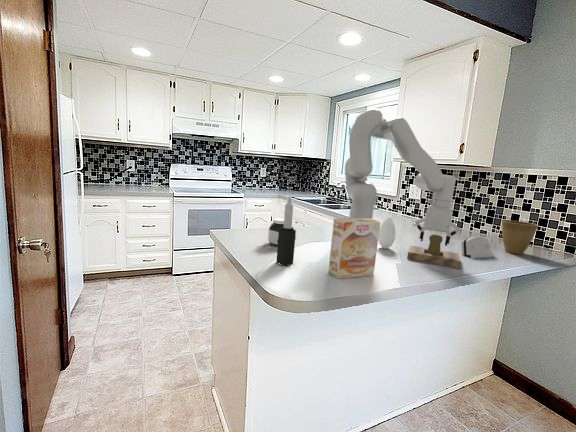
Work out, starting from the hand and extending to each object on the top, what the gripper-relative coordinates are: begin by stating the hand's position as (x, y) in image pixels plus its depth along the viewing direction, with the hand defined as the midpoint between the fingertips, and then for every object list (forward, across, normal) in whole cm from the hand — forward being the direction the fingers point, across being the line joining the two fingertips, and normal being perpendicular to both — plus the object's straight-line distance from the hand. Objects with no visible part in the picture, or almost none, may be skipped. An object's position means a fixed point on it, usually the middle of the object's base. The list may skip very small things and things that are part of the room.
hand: (433, 243), depth 137 cm
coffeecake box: (+9, -25, -42) cm, 49 cm away
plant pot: (+6, +39, +45) cm, 60 cm away
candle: (+10, -49, -46) cm, 68 cm away
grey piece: (+7, +20, +24) cm, 32 cm away
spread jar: (+10, -62, -22) cm, 66 cm away
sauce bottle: (+8, -20, +6) cm, 22 cm away
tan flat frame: (+7, +1, 0) cm, 7 cm away
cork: (+7, +1, 0) cm, 8 cm away
